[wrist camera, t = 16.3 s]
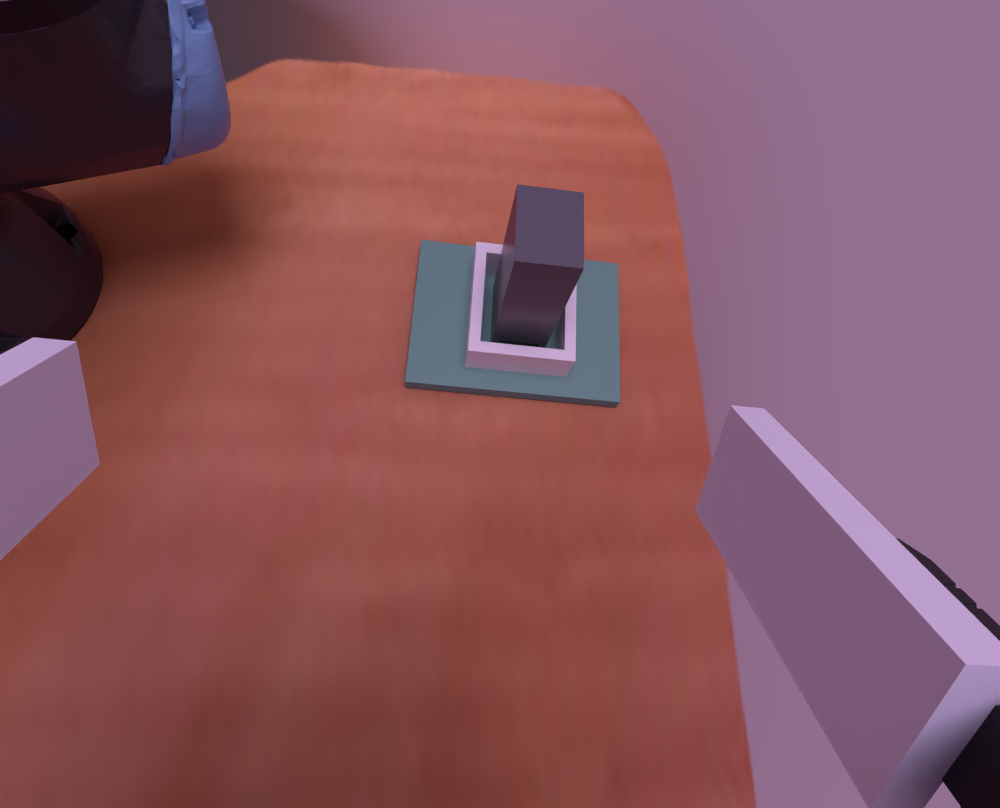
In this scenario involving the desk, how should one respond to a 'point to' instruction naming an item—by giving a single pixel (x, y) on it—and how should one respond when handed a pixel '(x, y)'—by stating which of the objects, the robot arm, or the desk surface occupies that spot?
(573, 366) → the board
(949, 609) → the robot arm
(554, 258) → the block
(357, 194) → the desk surface
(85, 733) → the desk surface
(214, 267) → the desk surface
